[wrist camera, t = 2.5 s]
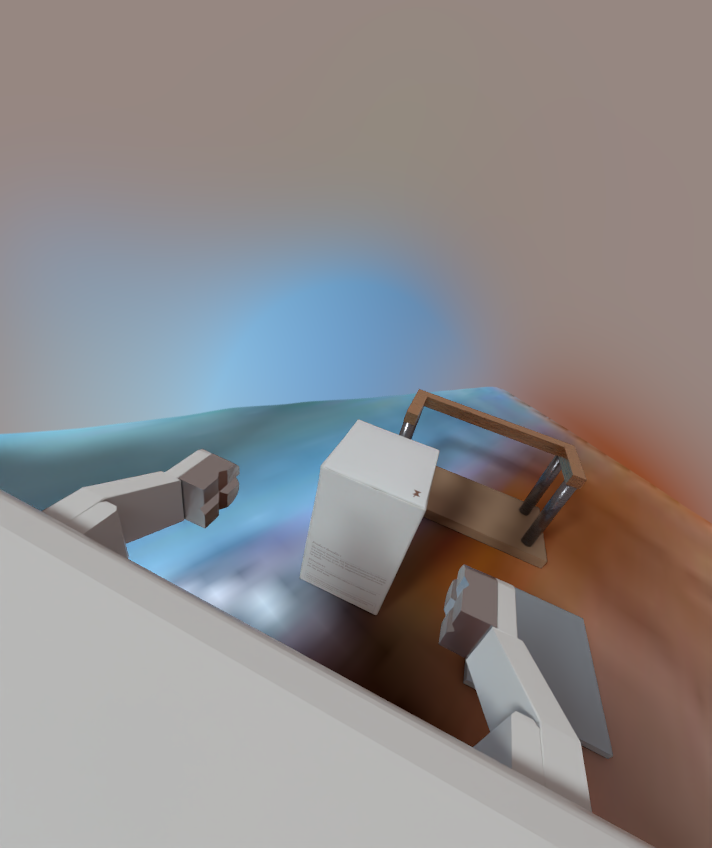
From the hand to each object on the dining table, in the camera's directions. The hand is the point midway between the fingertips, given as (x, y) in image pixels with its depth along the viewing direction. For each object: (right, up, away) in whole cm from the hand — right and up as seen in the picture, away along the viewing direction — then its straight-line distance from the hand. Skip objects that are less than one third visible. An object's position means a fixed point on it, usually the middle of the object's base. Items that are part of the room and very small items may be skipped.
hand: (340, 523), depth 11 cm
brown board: (+12, -6, +29) cm, 32 cm away
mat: (+15, -15, +17) cm, 27 cm away
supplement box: (0, -9, +20) cm, 22 cm away
